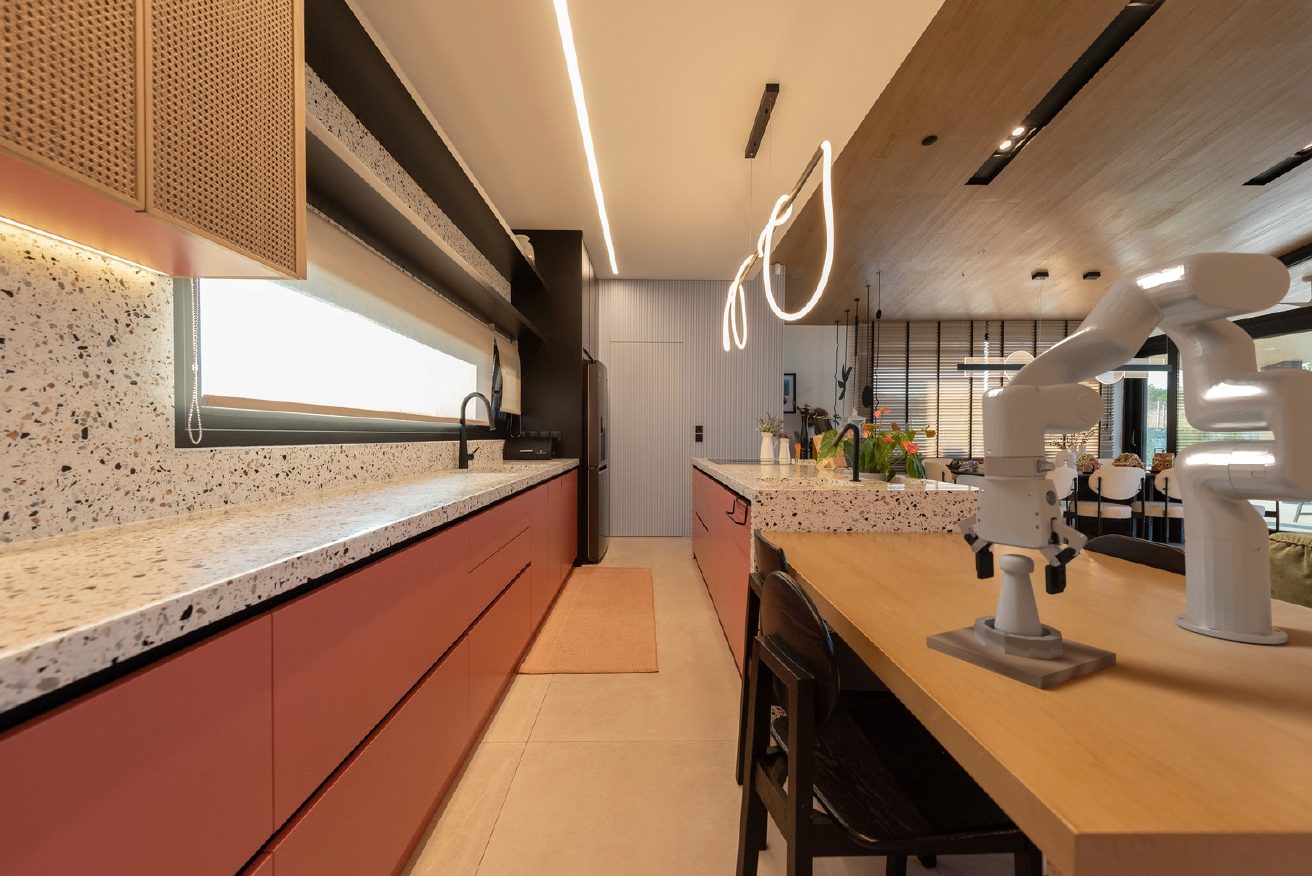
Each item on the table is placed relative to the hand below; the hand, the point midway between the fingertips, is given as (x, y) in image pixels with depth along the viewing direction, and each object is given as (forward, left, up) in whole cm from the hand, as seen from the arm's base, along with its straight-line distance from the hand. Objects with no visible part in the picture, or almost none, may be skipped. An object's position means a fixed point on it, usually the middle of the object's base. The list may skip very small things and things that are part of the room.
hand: (1018, 585), depth 77 cm
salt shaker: (0, 0, -9) cm, 9 cm away
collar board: (0, 0, -10) cm, 10 cm away
